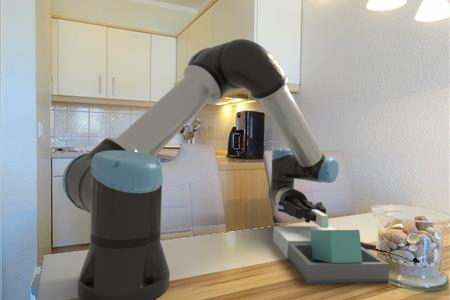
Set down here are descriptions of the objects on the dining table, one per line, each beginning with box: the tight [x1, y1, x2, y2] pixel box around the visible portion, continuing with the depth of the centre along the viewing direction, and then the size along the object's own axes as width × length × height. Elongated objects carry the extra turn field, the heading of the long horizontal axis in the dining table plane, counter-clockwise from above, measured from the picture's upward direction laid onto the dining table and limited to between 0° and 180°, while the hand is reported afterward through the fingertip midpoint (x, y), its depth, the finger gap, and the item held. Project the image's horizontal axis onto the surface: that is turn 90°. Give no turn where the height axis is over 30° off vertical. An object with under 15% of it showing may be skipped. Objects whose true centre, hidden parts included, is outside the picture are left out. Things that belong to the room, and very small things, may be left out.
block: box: [310, 229, 363, 263], centre depth 66 cm, size 6×6×10 cm
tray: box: [287, 244, 390, 285], centre depth 66 cm, size 16×12×4 cm
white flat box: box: [272, 225, 338, 260], centre depth 78 cm, size 16×12×4 cm
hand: (325, 221), depth 72 cm, fingers closed
